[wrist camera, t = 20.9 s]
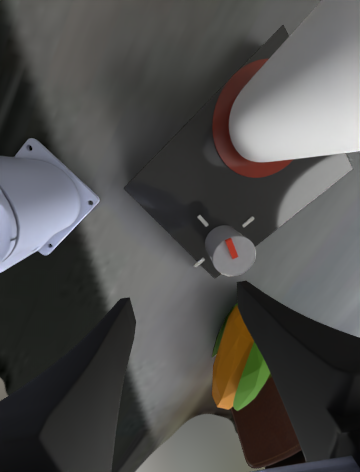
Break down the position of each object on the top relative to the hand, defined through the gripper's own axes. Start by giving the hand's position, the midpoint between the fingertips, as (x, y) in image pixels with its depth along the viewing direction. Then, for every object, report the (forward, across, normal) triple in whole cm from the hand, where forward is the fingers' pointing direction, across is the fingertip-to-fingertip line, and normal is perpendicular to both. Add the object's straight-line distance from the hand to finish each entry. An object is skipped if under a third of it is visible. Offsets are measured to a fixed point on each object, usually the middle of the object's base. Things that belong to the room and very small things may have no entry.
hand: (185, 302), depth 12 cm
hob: (+10, -7, -7) cm, 14 cm away
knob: (+8, -5, 0) cm, 9 cm away
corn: (+11, -6, +17) cm, 21 cm away
